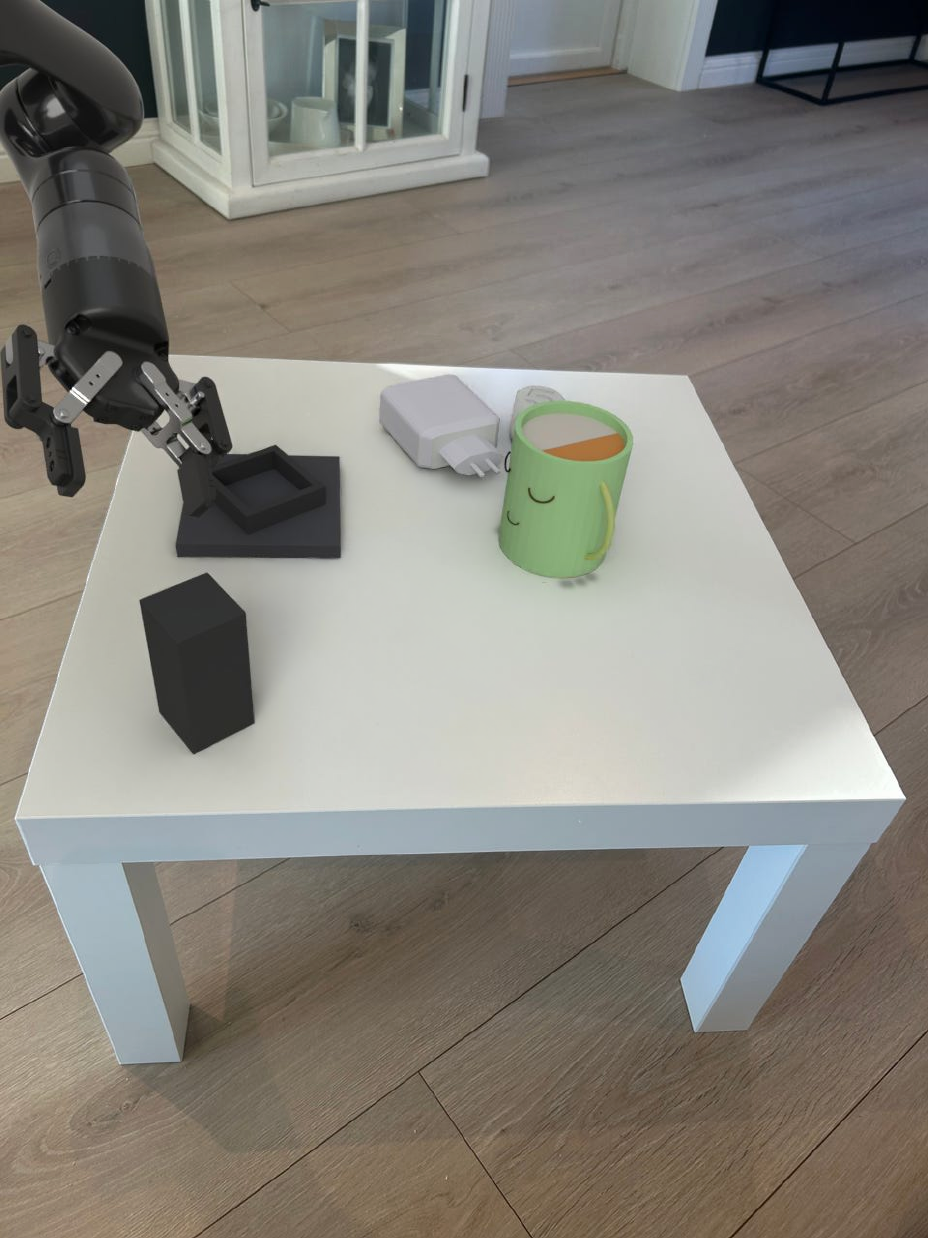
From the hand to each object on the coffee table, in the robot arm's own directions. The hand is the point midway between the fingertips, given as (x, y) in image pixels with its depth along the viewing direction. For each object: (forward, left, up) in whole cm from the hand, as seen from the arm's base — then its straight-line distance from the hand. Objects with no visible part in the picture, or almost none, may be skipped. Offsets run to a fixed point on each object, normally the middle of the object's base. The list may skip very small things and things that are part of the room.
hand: (139, 501), depth 60 cm
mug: (+35, -10, -18) cm, 41 cm away
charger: (+40, +7, -18) cm, 45 cm away
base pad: (+20, +13, -18) cm, 30 cm away
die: (+49, +3, -18) cm, 53 cm away
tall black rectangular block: (0, -3, -18) cm, 18 cm away
